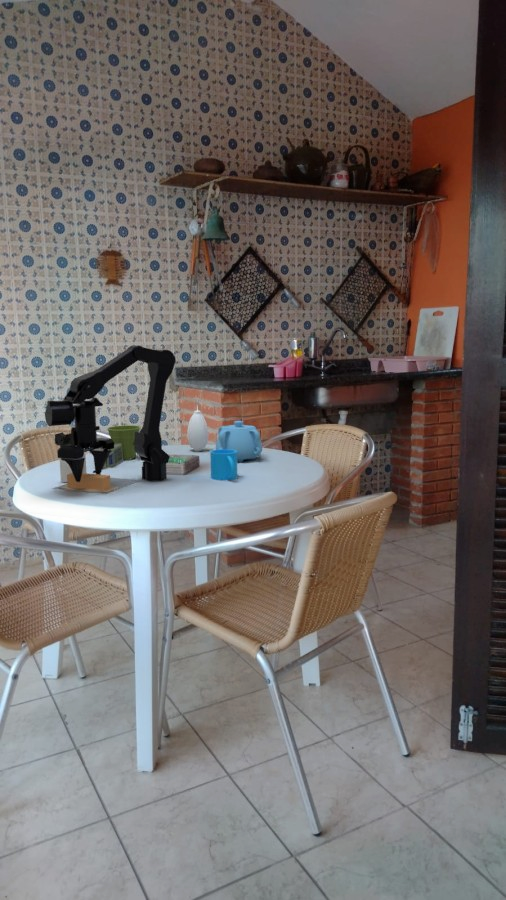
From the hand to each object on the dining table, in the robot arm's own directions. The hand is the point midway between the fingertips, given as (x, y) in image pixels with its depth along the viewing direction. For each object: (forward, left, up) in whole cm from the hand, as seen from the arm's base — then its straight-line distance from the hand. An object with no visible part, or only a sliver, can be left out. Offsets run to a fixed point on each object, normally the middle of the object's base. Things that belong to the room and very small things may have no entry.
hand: (88, 478), depth 181 cm
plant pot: (+19, -47, -4) cm, 51 cm away
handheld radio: (+15, -31, -4) cm, 35 cm away
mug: (-29, -29, -4) cm, 42 cm away
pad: (0, 0, -3) cm, 3 cm away
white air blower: (+1, -70, -4) cm, 70 cm away
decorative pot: (-20, -60, -4) cm, 64 cm away
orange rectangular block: (0, 0, -3) cm, 3 cm away
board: (+1, -5, -4) cm, 7 cm away
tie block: (+11, -7, -3) cm, 13 cm away
